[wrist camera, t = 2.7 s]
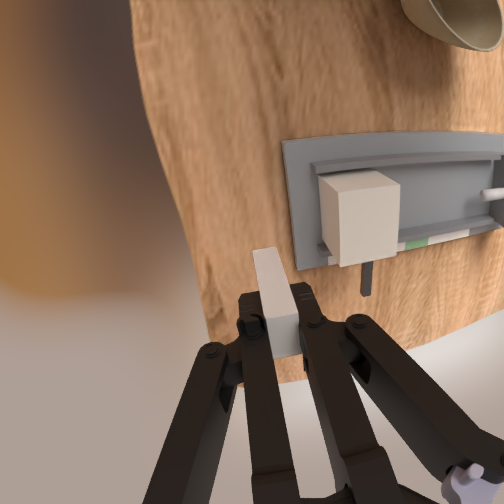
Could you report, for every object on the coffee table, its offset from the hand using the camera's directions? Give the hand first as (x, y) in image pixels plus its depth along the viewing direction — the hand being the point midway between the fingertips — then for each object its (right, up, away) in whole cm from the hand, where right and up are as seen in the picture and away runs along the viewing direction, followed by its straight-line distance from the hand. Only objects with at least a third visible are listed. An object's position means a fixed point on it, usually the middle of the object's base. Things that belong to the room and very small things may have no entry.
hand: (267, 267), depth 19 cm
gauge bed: (+16, +7, +7) cm, 19 cm away
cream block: (+8, +4, +7) cm, 11 cm away
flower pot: (+15, +24, -2) cm, 29 cm away
